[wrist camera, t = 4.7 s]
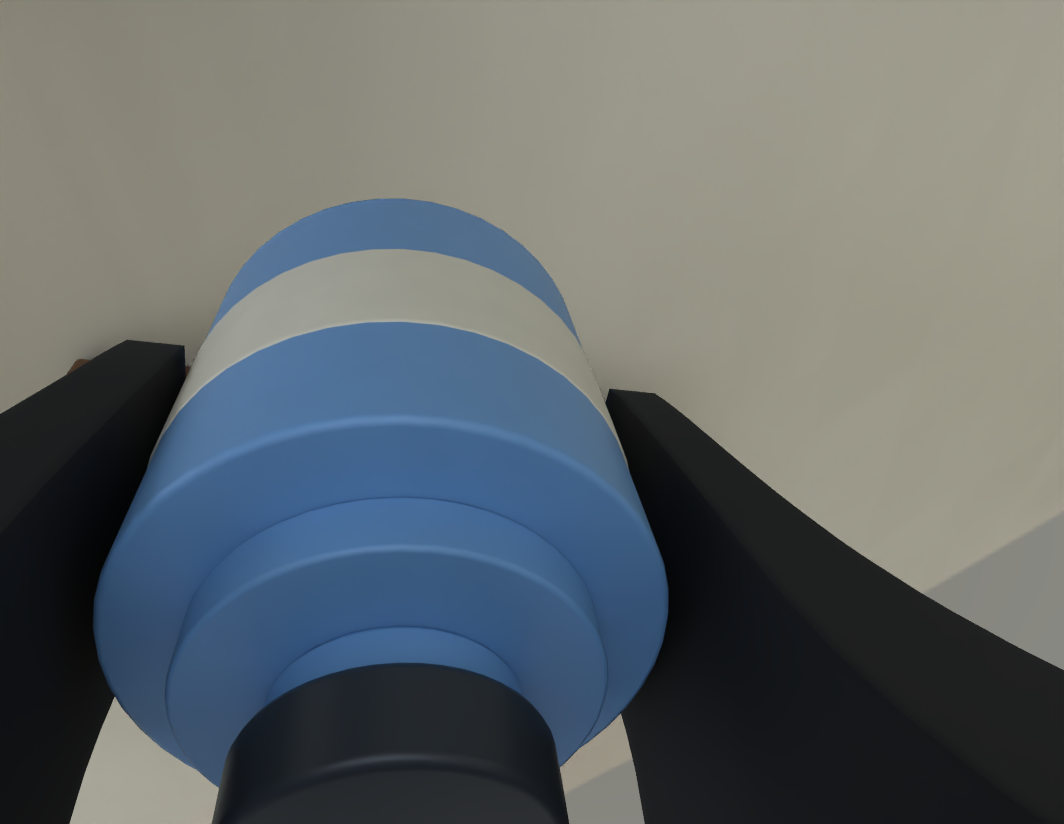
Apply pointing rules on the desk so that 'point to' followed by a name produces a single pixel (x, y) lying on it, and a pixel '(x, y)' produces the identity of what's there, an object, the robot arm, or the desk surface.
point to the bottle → (384, 536)
